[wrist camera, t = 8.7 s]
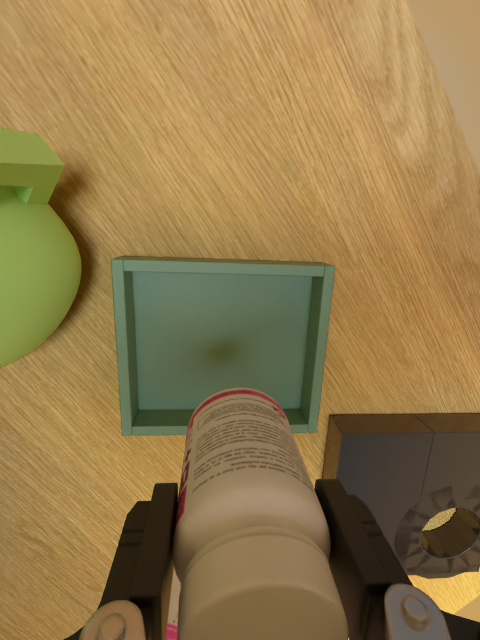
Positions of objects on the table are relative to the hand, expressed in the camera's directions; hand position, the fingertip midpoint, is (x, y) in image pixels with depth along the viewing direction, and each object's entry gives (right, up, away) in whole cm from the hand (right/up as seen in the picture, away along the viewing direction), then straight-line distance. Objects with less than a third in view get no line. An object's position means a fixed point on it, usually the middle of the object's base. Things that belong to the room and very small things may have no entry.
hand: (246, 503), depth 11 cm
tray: (-2, +5, +16) cm, 17 cm away
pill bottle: (0, +1, +4) cm, 5 cm away
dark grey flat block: (+16, -10, +21) cm, 29 cm away
